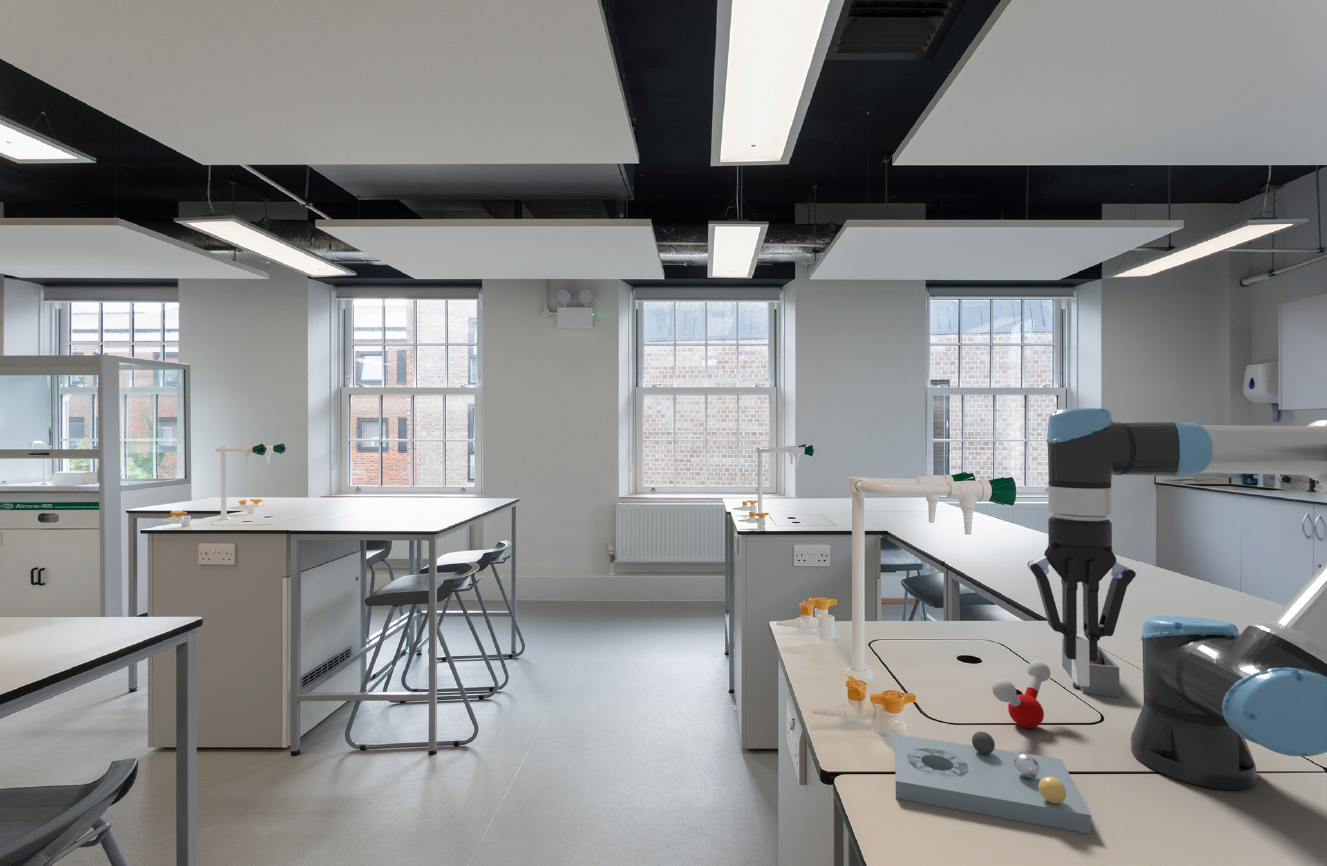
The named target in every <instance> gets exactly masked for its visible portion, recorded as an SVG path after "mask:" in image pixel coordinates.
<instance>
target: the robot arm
mask: <svg viewBox="0 0 1327 866" xmlns="http://www.w3.org/2000/svg"><path fill="white" fill-rule="evenodd" d="M1047 423H1048V424H1047V433H1046V434H1047V436H1046V443H1047V463H1048V464H1047V465H1048V468H1047V471H1048V482H1047V483H1048V484H1047V485H1048V488H1047V489H1048V492H1047V493H1048V500H1047V501H1048V503H1047V505H1048V506H1047V511H1048V512H1049V513H1050V514H1052V516H1050V517H1049V518H1048V523H1047V524H1048V527H1047V528H1048V537H1047V538H1048V539H1047V540H1048V544H1047V548H1046V549H1045V551H1044V556H1043V557H1040V558H1039V559H1036V560H1035V561H1033V560H1030V561H1028V562H1027V568H1028V569H1029V570H1030V571H1031V573H1032V574H1033V575H1034V577H1035V581H1036V584H1037V587H1038V591H1039V593H1040V594H1039V595H1040V597H1041V602H1042V605H1043V608H1044V609H1043V610H1044V612H1045V615H1046V620H1047V623H1048V626H1049V627H1050V628H1051V629H1052V630H1053V631H1054V632H1058V633H1061V634H1062V635H1063V636H1062V637H1063V638H1062V639H1063V644H1064V654H1065V656H1066V657H1067V658H1068V659H1072V678H1071V679H1072V680H1073V682H1075V683H1076V684H1077V685H1080V686H1088V687H1089V661H1094V662H1096V660H1097V658H1098V652H1097V645H1098V642H1099V641H1100V640H1101V638H1103V637H1112V636H1113V635H1114V634H1115V630H1116V626H1117V623H1118V620H1119V616H1120V611H1121V609H1122V605H1123V603H1124V598H1125V595H1126V592H1127V588H1128V586H1129V585H1130V583H1132V581H1133V580H1134V579H1135V577H1136V576H1137V573H1136V571H1134V570H1133V569H1131V568H1130V567H1128V566H1124V565H1122V564H1121V563H1120V562H1118V561H1117V557H1116V555H1115V553H1114V551H1113V526H1112V525H1113V522H1111V520H1110V519H1107V518H1108V517H1110V516H1111V515H1113V512H1112V511H1113V507H1112V506H1113V505H1112V503H1113V502H1112V479H1113V476H1122V475H1123V476H1164V477H1165V476H1167V477H1168V476H1170V477H1171V476H1172V477H1174V478H1176V477H1179V476H1195V475H1196V476H1197V475H1198V474H1200V473H1204V474H1206V473H1207V474H1208V473H1210V474H1242V475H1243V474H1245V475H1246V474H1248V475H1288V476H1289V475H1292V476H1306V477H1308V478H1310V479H1311V480H1313V481H1316V482H1320V483H1321V482H1323V483H1327V419H1322V420H1321V419H1320V420H1316V421H1313V422H1311V423H1309V424H1307V425H1305V426H1304V425H1303V426H1301V425H1215V424H1214V425H1212V424H1211V425H1209V424H1208V425H1207V424H1204V425H1201V424H1198V423H1195V422H1181V421H1176V420H1175V421H1173V420H1172V421H1147V422H1146V421H1145V422H1144V421H1143V422H1140V421H1139V422H1116V421H1113V419H1112V413H1111V412H1110V410H1109V409H1107V408H1103V407H1102V408H1096V407H1095V408H1094V407H1093V408H1091V407H1090V408H1084V407H1083V408H1063V409H1061V408H1060V409H1056V410H1054V411H1052V412H1051V413H1050V414H1049V416H1048V422H1047ZM1049 565H1050V566H1051V568H1052V569H1053V570H1054V571H1055V573H1056V574H1057V575H1058V576H1059V577H1060V578H1061V579H1060V581H1061V586H1062V587H1061V591H1062V593H1061V596H1062V597H1061V599H1062V600H1061V601H1062V602H1061V604H1062V607H1061V610H1062V611H1061V613H1062V614H1061V615H1062V619H1060V616H1059V615H1060V614H1059V612H1058V608H1057V605H1056V601H1055V598H1054V595H1053V591H1052V587H1051V583H1050V581H1049V577H1048V574H1049V572H1050V570H1049ZM1110 570H1111V571H1110ZM1109 572H1110V575H1111V580H1110V582H1109V586H1108V590H1107V594H1106V597H1105V601H1104V604H1103V607H1102V611H1101V615H1100V617H1099V591H1100V581H1102V579H1103V578H1104V577H1106V575H1107V574H1109ZM1079 583H1081V586H1082V615H1083V616H1082V620H1083V621H1082V623H1083V625H1082V626H1083V628H1082V629H1083V634H1082V633H1078V632H1077V631H1078V628H1077V627H1078V626H1077V624H1078V621H1077V620H1078V619H1077V617H1078V613H1077V611H1078V605H1077V603H1078V600H1077V599H1078V597H1077V592H1078V587H1079V586H1078V584H1079ZM1061 620H1062V621H1061ZM1142 625H1143V626H1142V630H1141V631H1142V633H1141V637H1140V639H1141V641H1142V681H1143V684H1142V687H1143V705H1142V708H1141V711H1140V713H1139V715H1138V718H1137V720H1136V723H1135V725H1134V727H1133V730H1132V732H1131V734H1130V750H1131V753H1132V755H1133V756H1134V758H1136V759H1137V760H1138V761H1139V762H1141V763H1142V764H1144V765H1145V766H1147V767H1149V768H1151V770H1154V771H1156V772H1158V773H1161V774H1163V775H1165V776H1167V777H1170V778H1173V779H1176V780H1179V781H1181V782H1184V783H1188V784H1192V785H1196V786H1199V787H1205V788H1209V789H1216V790H1224V791H1243V790H1248V789H1251V788H1253V787H1254V786H1256V784H1257V766H1256V763H1255V760H1254V757H1253V755H1252V753H1251V750H1250V747H1249V745H1248V742H1247V741H1249V742H1251V743H1254V744H1256V745H1260V746H1262V747H1264V748H1266V749H1267V750H1270V751H1272V752H1275V753H1277V754H1280V755H1284V756H1289V757H1313V756H1318V755H1322V754H1326V753H1327V560H1326V561H1325V562H1324V563H1323V565H1321V567H1320V568H1319V569H1318V570H1317V571H1316V572H1315V573H1314V574H1313V575H1312V576H1311V578H1310V579H1309V580H1308V581H1306V583H1305V584H1304V585H1303V587H1301V589H1300V590H1299V591H1298V592H1297V593H1296V594H1295V595H1294V596H1293V597H1292V599H1291V600H1289V602H1288V603H1287V604H1286V605H1285V606H1284V607H1283V608H1282V609H1281V611H1280V612H1279V613H1278V614H1277V615H1276V616H1275V617H1274V618H1273V620H1271V622H1268V623H1267V622H1266V623H1250V624H1248V625H1247V626H1246V627H1245V628H1244V630H1243V631H1242V632H1241V633H1239V629H1238V627H1237V625H1235V624H1233V623H1231V622H1229V621H1224V620H1219V619H1212V618H1204V617H1194V616H1185V615H1183V616H1180V615H1153V616H1150V617H1147V618H1146V619H1145V620H1144V621H1143V624H1142Z"/></svg>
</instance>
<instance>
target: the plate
mask: <svg viewBox="0 0 1327 866" xmlns="http://www.w3.org/2000/svg"><path fill="white" fill-rule="evenodd" d="M894 744H895V745H894V746H895V747H894V748H895V749H894V750H895V751H894V752H895V753H894V754H895V755H894V758H895V763H894V764H895V799H897V800H902V801H910V802H915V803H919V804H925V805H931V806H937V807H941V808H942V807H943V808H947V809H952V810H957V811H964V812H967V813H975V814H978V815H979V814H980V815H985V816H991V817H994V818H1001V819H1007V820H1013V821H1018V822H1023V823H1027V824H1034V825H1039V826H1045V827H1051V828H1055V829H1061V830H1066V831H1072V832H1076V833H1077V832H1078V833H1083V834H1088V835H1092V815H1091V813H1090V811H1089V809H1088V807H1087V805H1086V803H1085V802H1084V800H1083V798H1082V796H1081V794H1080V791H1079V789H1078V788H1077V786H1076V784H1075V782H1074V781H1073V778H1072V776H1071V775H1070V773H1069V771H1068V769H1067V767H1066V765H1065V763H1064V761H1063V759H1062V758H1057V757H1051V756H1045V755H1036V754H1031V753H1027V754H1028V755H1031V756H1032V757H1034V758H1035V759H1036V761H1037V762H1038V764H1039V768H1040V770H1039V774H1038V775H1037V776H1036V777H1035V778H1031V779H1029V778H1025V777H1023V776H1021V775H1020V774H1019V773H1018V772H1017V771H1016V769H1015V766H1014V761H1015V758H1016V757H1017V756H1018V755H1020V754H1026V753H1023V752H1019V751H1012V750H1011V751H1010V750H1004V749H997V748H994V750H993V751H992V752H991V753H990V754H982V753H979V752H978V751H977V750H976V749H975V748H974V746H973V744H972V745H970V744H964V743H958V742H957V743H956V742H952V741H951V742H950V741H944V740H939V739H938V740H937V739H932V738H925V737H924V738H923V737H917V736H910V735H905V734H899V733H894ZM1044 777H1054V778H1056V779H1058V780H1059V781H1060V782H1061V783H1062V784H1063V785H1064V787H1065V789H1066V798H1065V800H1064V801H1063V802H1061V803H1059V804H1054V803H1050V802H1048V801H1047V800H1045V799H1044V798H1043V797H1042V795H1041V794H1040V791H1039V782H1040V780H1041V779H1042V778H1044Z"/></svg>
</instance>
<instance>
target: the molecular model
mask: <svg viewBox="0 0 1327 866" xmlns="http://www.w3.org/2000/svg"><path fill="white" fill-rule="evenodd" d="M1027 673H1028V675H1029V677H1030V679H1029V680H1028V684H1027V687H1026V689H1025V693H1023V694H1022V693H1021V694H1020V693H1019V694H1017V689H1016V686H1015V685H1014V683H1012V682H1011V681H1009V680H1008V679H1004V678H1002V679H998V680H997V679H996V681H995V682H993V685H992V688H991V689H992V693H993V696H994V697H995V698H996V699H997V700H998V701H1000V702H1003V703H1008V705H1007V706H1008V707H1007V710H1008V714H1009V716H1010V718H1011V719H1012V720H1013V722H1015V724H1016V725H1019V726H1020V727H1022V728H1025V729H1033V728H1036V727H1039V726H1040V725H1041V724H1042V722H1043V720H1044V718H1045V716H1044V715H1045V713H1044V708H1043V707H1042V704H1041V703H1040V702H1039V701H1038V700H1037V698H1038V694H1039V692H1040V689H1041V685H1042V683H1043V682H1045V681H1047V680H1049V679H1050V678H1051V669H1050V666H1048V665H1047V664H1046V663H1045V662H1043V661H1041V660H1033V661H1031V662H1029V664H1028V665H1027Z"/></svg>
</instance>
